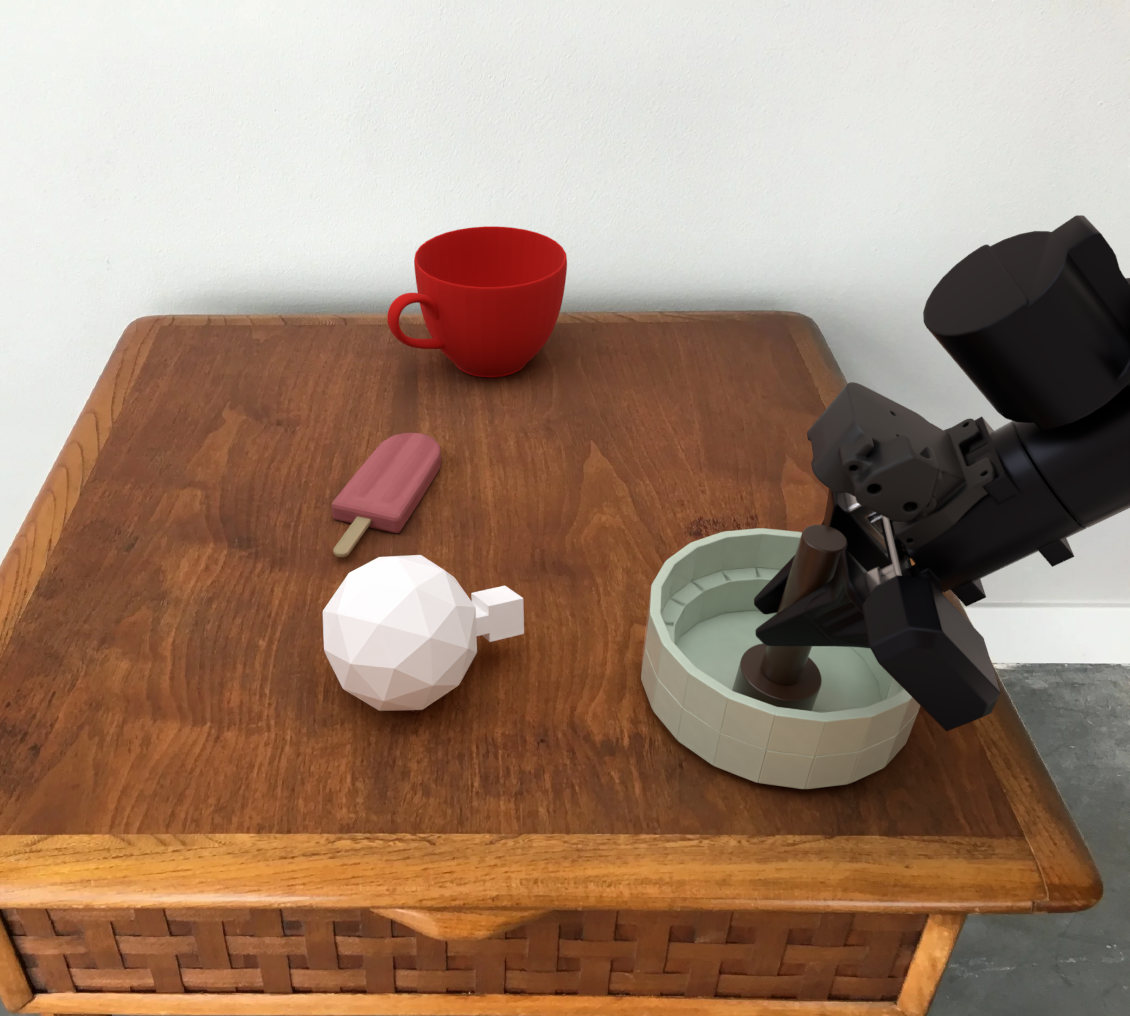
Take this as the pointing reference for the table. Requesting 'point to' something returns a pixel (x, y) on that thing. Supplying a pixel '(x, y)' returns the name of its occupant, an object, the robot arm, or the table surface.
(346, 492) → the popsicle
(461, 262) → the ceramic cup
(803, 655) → the pestle
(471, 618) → the perfume bottle
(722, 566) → the bowl
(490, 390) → the table surface
